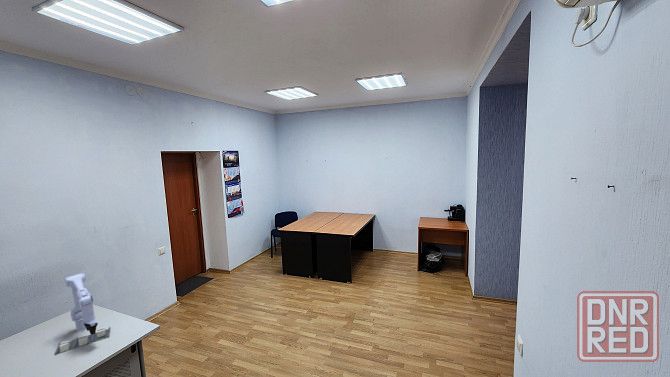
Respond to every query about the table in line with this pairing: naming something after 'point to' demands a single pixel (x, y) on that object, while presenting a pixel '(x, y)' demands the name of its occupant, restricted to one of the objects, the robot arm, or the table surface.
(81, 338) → the block
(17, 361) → the table surface
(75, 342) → the panel
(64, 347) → the breaker right
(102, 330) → the breaker
